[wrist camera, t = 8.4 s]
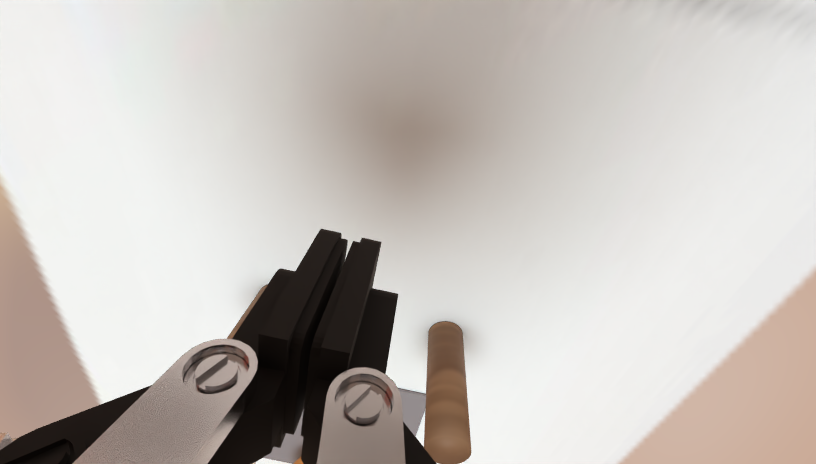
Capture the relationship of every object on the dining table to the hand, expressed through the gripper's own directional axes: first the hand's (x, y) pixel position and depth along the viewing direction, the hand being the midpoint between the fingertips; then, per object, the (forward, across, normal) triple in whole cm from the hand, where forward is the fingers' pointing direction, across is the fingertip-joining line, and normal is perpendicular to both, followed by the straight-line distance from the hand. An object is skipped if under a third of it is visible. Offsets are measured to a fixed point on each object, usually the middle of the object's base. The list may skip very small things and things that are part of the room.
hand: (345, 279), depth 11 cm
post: (+13, -6, +13) cm, 20 cm away
